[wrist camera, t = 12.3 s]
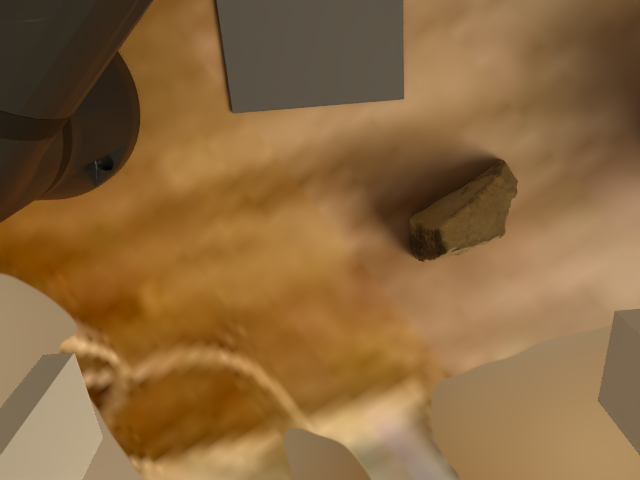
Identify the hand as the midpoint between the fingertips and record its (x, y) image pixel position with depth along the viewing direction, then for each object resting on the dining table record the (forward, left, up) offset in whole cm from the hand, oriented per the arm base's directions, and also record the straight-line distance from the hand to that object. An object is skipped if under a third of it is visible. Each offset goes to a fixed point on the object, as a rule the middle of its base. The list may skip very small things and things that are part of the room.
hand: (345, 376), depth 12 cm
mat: (0, +7, -32) cm, 32 cm away
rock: (+12, -8, -32) cm, 35 cm away
